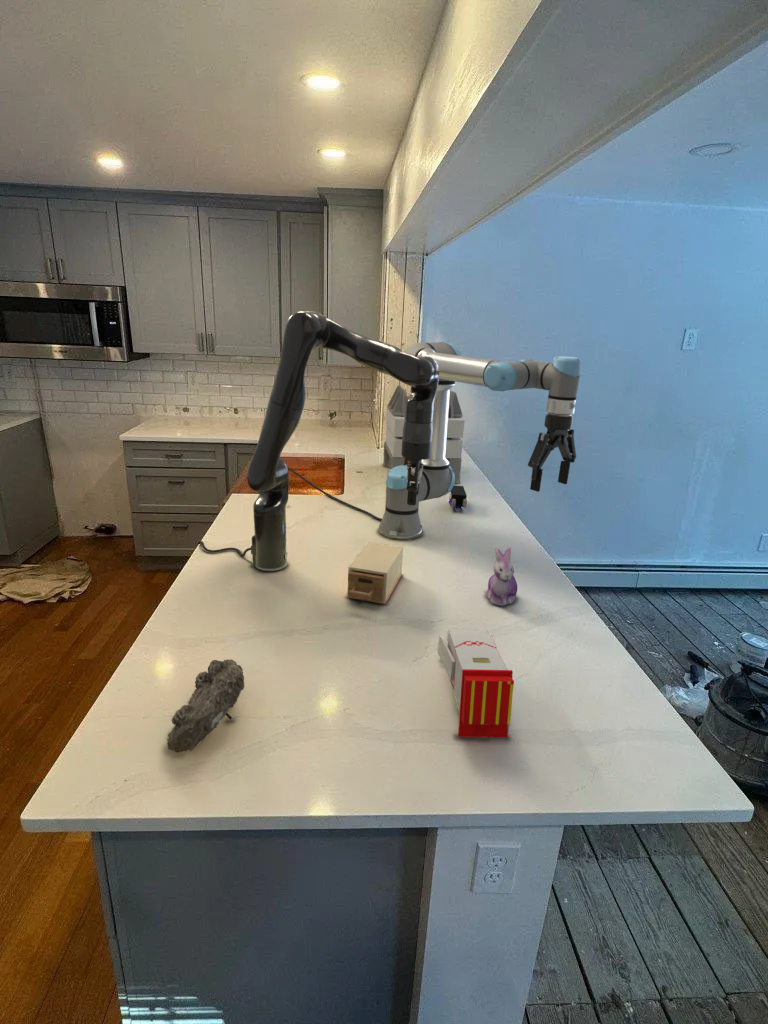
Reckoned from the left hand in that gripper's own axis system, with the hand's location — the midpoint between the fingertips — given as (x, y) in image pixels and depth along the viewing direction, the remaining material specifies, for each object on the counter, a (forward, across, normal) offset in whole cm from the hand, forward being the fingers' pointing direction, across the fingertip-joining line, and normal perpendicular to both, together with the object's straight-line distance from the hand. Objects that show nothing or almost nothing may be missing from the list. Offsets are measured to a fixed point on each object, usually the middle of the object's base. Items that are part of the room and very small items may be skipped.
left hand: (412, 499), depth 148 cm
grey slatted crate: (+28, -125, -6) cm, 128 cm away
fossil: (+28, +57, -32) cm, 71 cm away
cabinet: (+28, -3, -9) cm, 30 cm away
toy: (+28, +40, +17) cm, 52 cm away
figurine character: (+28, -78, +13) cm, 84 cm away
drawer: (+27, +2, -10) cm, 29 cm away
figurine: (+28, -3, +26) cm, 38 cm away
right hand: (0, -23, +38) cm, 44 cm away
